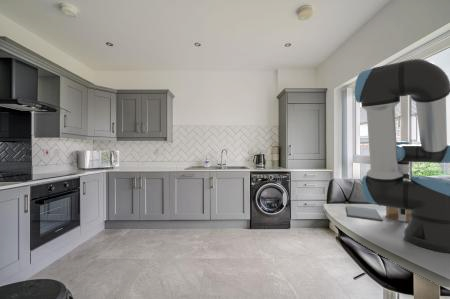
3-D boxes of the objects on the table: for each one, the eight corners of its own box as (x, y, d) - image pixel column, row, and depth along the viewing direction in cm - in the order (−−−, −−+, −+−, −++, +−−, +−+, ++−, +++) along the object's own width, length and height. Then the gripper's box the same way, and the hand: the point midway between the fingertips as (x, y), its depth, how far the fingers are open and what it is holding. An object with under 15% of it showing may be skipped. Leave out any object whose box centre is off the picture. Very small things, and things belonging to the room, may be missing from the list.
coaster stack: (412, 221, 99) (412, 206, 99) (388, 218, 103) (388, 204, 103) (408, 218, 104) (408, 203, 104) (386, 215, 109) (386, 201, 109)
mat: (382, 221, 99) (382, 219, 99) (348, 216, 105) (348, 214, 105) (375, 210, 116) (375, 209, 116) (346, 207, 123) (346, 205, 123)
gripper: (417, 175, 92) (416, 226, 92) (402, 171, 113) (402, 212, 113) (395, 174, 95) (395, 223, 95) (384, 170, 116) (384, 210, 116)
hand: (398, 217), depth 104 cm, fingers open, 11 cm apart
